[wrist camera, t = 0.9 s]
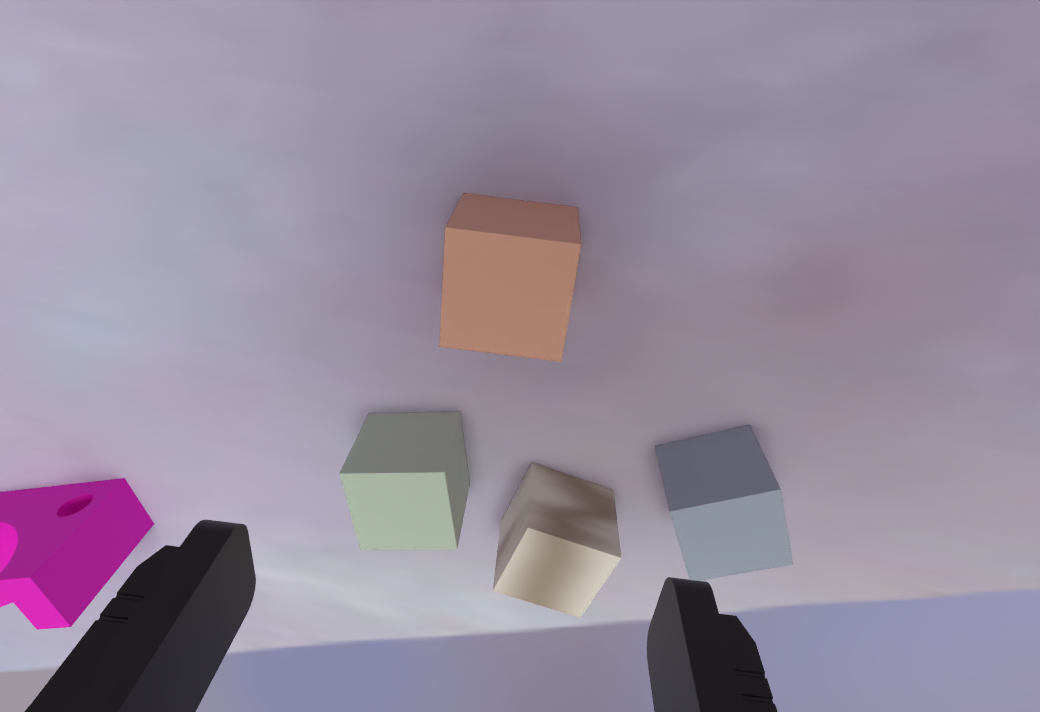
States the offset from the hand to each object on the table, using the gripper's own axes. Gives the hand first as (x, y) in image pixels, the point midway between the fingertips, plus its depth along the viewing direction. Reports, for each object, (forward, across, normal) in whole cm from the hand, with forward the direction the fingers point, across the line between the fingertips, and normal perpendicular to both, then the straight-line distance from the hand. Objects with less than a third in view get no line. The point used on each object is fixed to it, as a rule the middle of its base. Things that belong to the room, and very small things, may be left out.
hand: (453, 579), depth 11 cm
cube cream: (+18, -4, +15) cm, 24 cm away
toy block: (+18, +28, +22) cm, 40 cm away
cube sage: (+18, +4, +12) cm, 22 cm away
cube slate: (+18, -12, +11) cm, 24 cm away
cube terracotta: (+18, 0, 0) cm, 18 cm away
